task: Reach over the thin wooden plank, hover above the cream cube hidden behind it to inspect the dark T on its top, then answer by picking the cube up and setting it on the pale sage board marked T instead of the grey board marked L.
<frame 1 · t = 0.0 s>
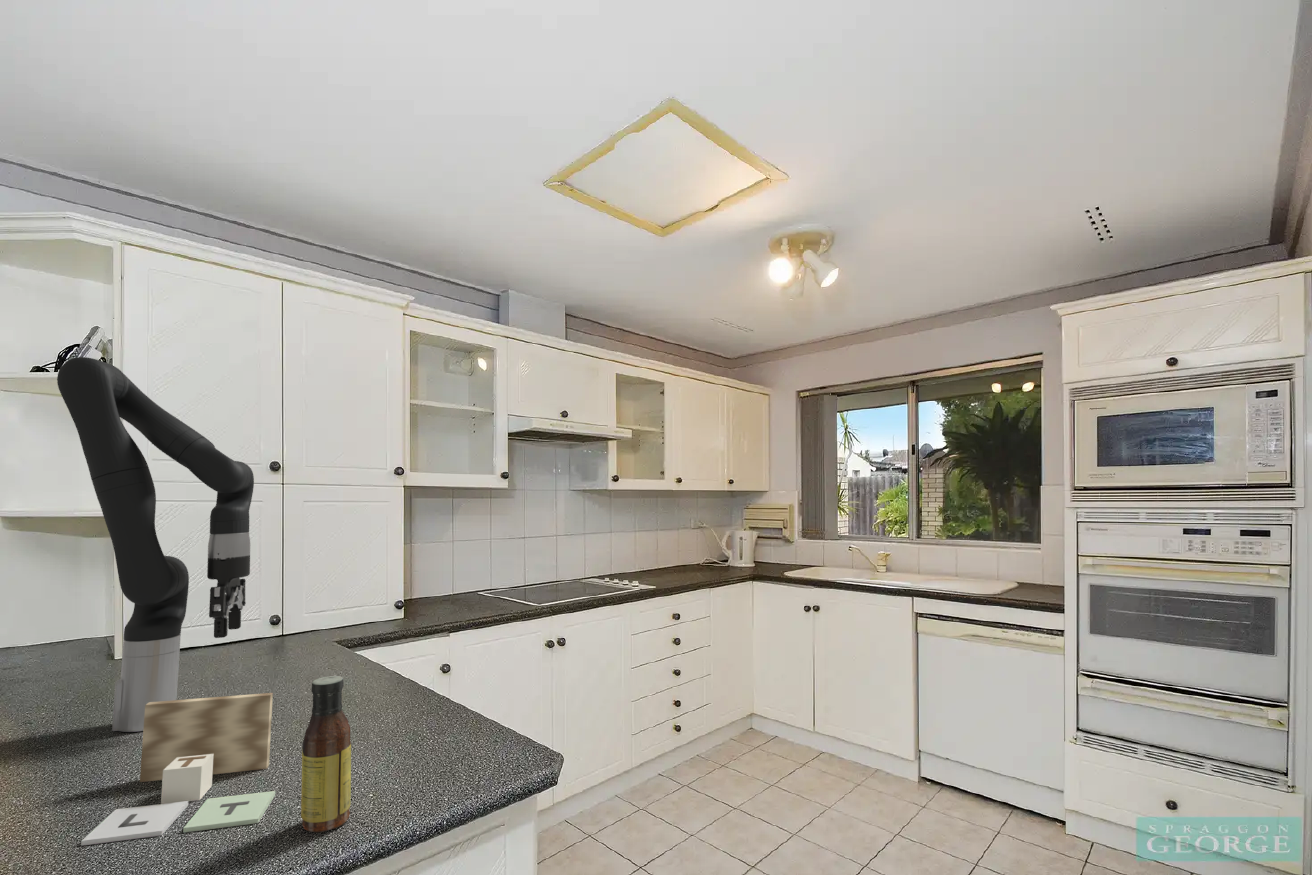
hand: (227, 633, 136), 17 cm above the countertop, tool pointing down, fingers open, 8 cm apart
board L: (137, 824, 91), on the countertop
cube: (187, 795, 100), on the countertop
thin wooden plank: (206, 773, 107), on the countertop
sauce bottle: (324, 825, 91), on the countertop
board T: (231, 812, 94), on the countertop
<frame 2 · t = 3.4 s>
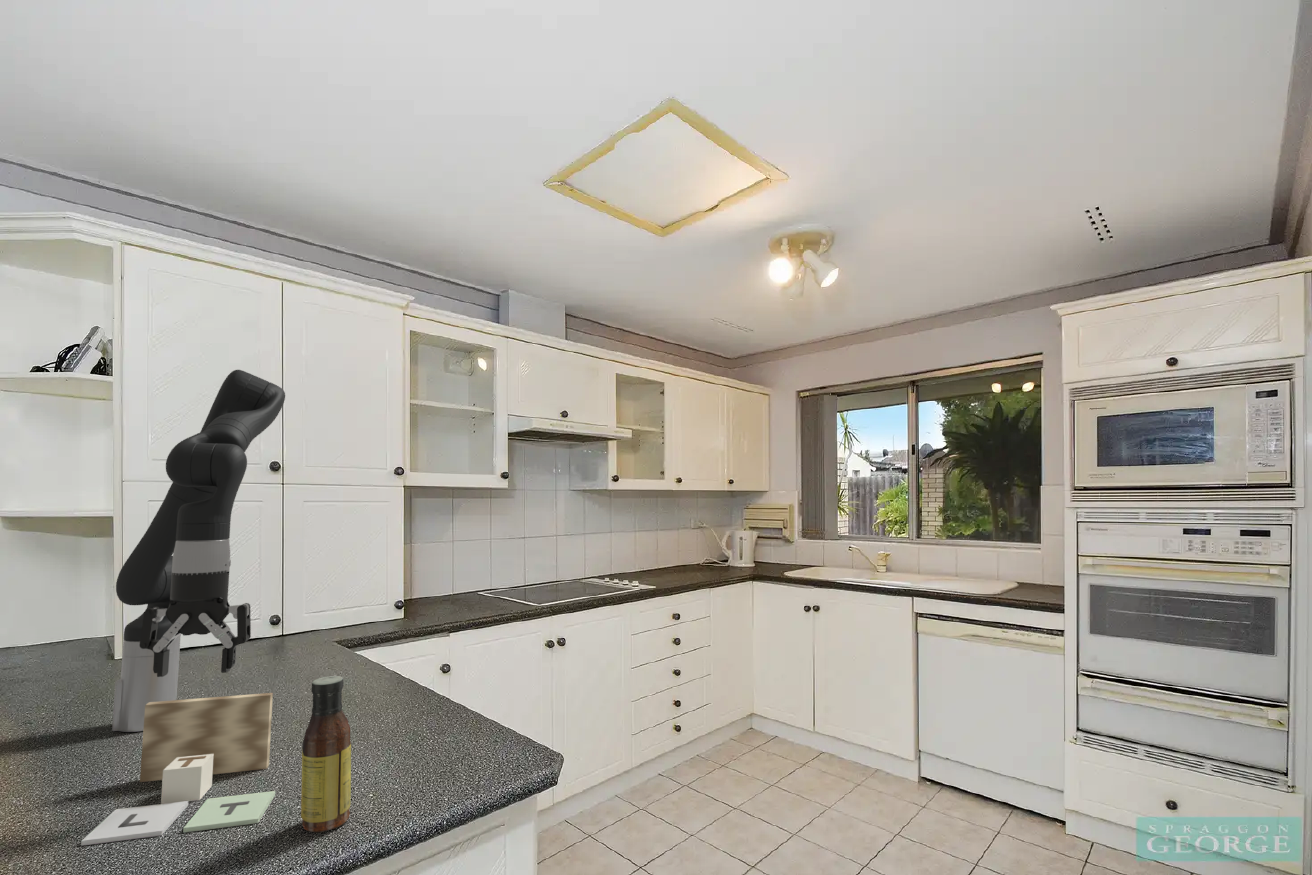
hand: (194, 673, 101), 18 cm above the countertop, tool pointing down, fingers open, 8 cm apart
nothing on the countertop moved.
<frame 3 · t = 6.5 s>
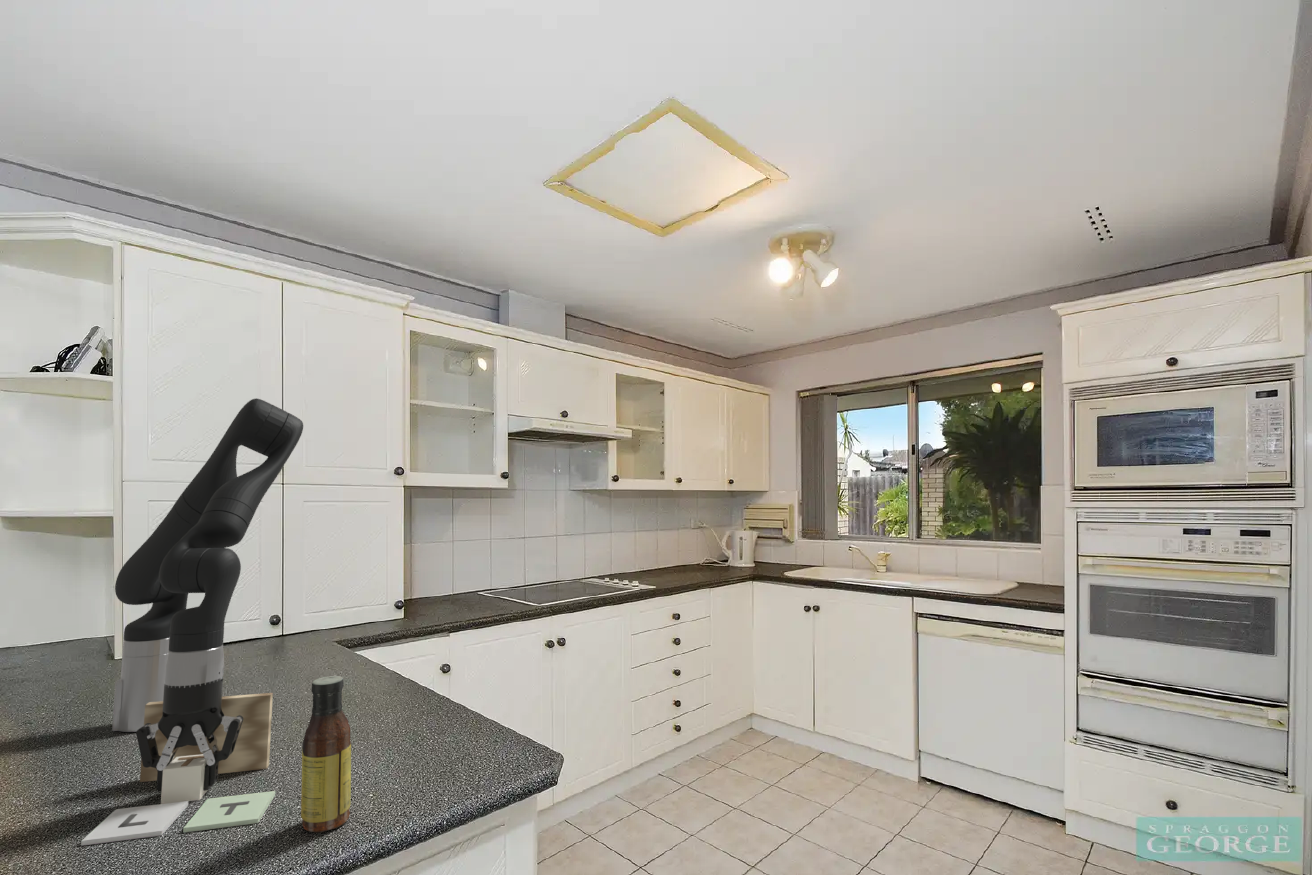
hand: (187, 790, 100), 1 cm above the countertop, tool pointing down, fingers closed on cube, 5 cm apart
cube: (186, 794, 100), on the countertop, touching gripper
everything else where it was.
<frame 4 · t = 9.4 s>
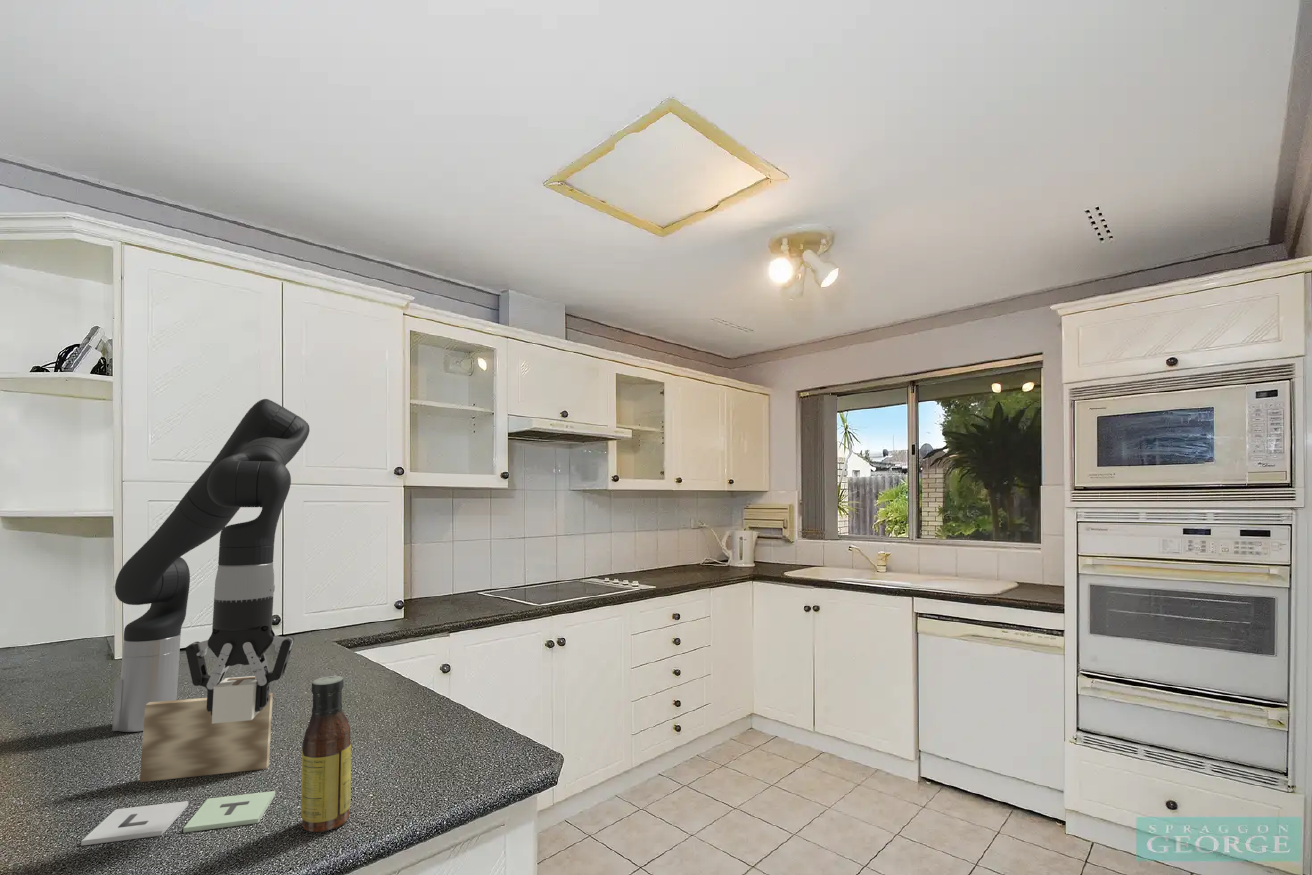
hand: (238, 711, 95), 14 cm above the countertop, tool pointing down, fingers closed on cube, 5 cm apart
cube: (237, 716, 95), point 14 cm above the countertop, touching gripper
everything else where it was.
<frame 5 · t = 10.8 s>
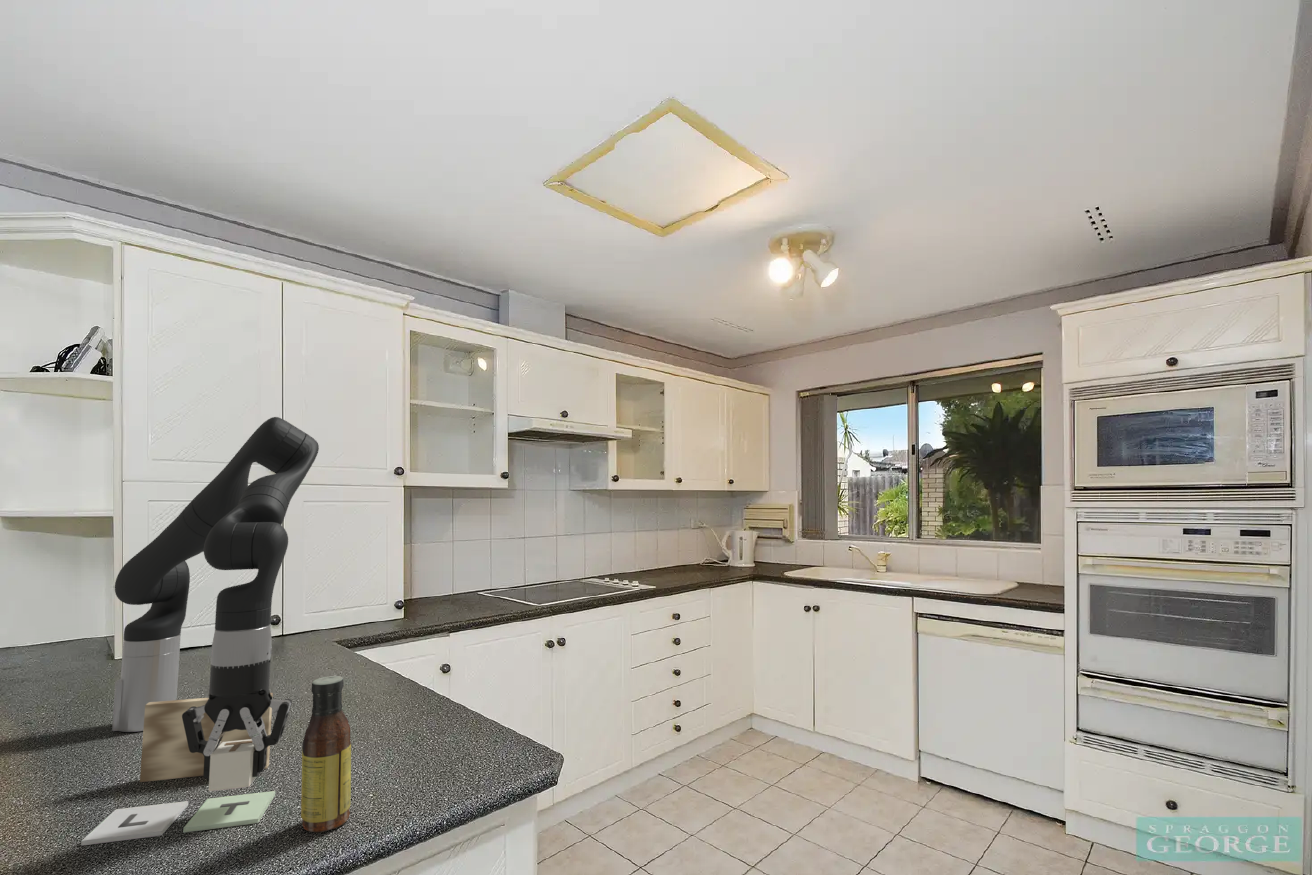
hand: (235, 776, 95), 5 cm above the countertop, tool pointing down, fingers closed on cube, 5 cm apart
cube: (234, 781, 95), point 4 cm above the countertop, touching gripper
everything else where it was.
when the fingers open (3 cm above the countertop, at t = 12.2 s): cube drops 1 cm, resting on board T.
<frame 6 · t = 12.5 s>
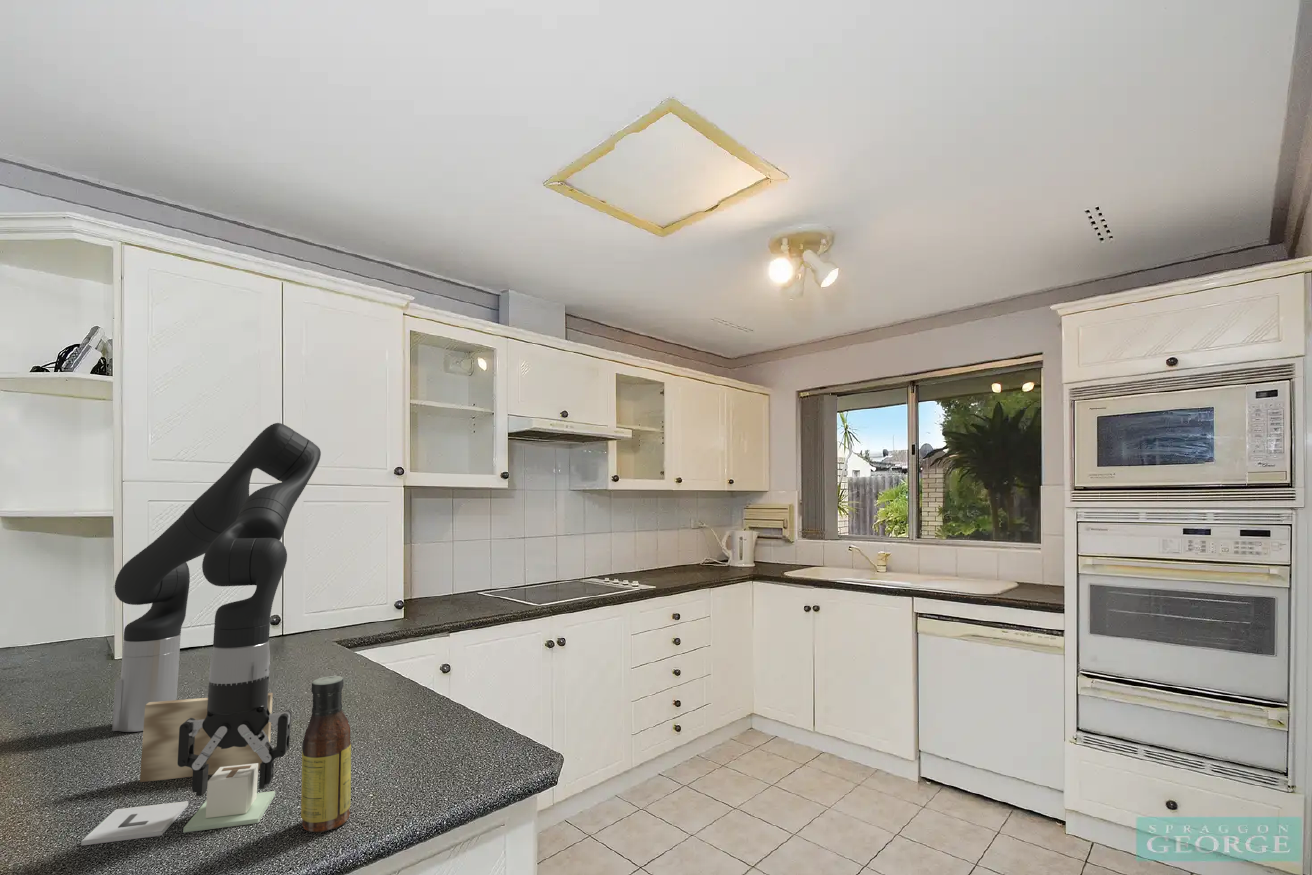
hand: (233, 790, 94), 3 cm above the countertop, tool pointing down, fingers open, 7 cm apart
cube: (231, 807, 94), point 1 cm above the countertop, touching board T
everything else where it was.
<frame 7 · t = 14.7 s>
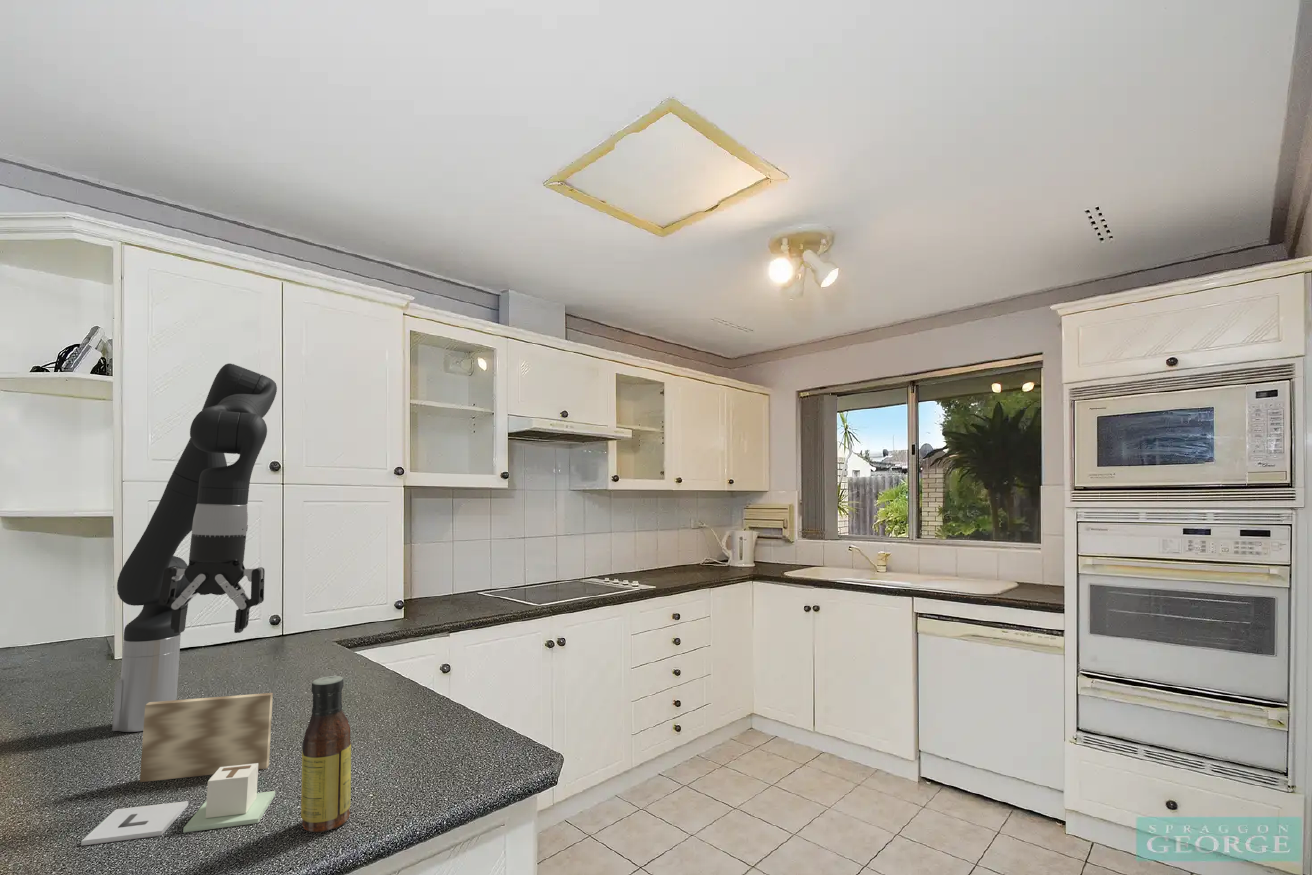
hand: (209, 632, 105), 24 cm above the countertop, tool pointing down, fingers open, 8 cm apart
nothing on the countertop moved.
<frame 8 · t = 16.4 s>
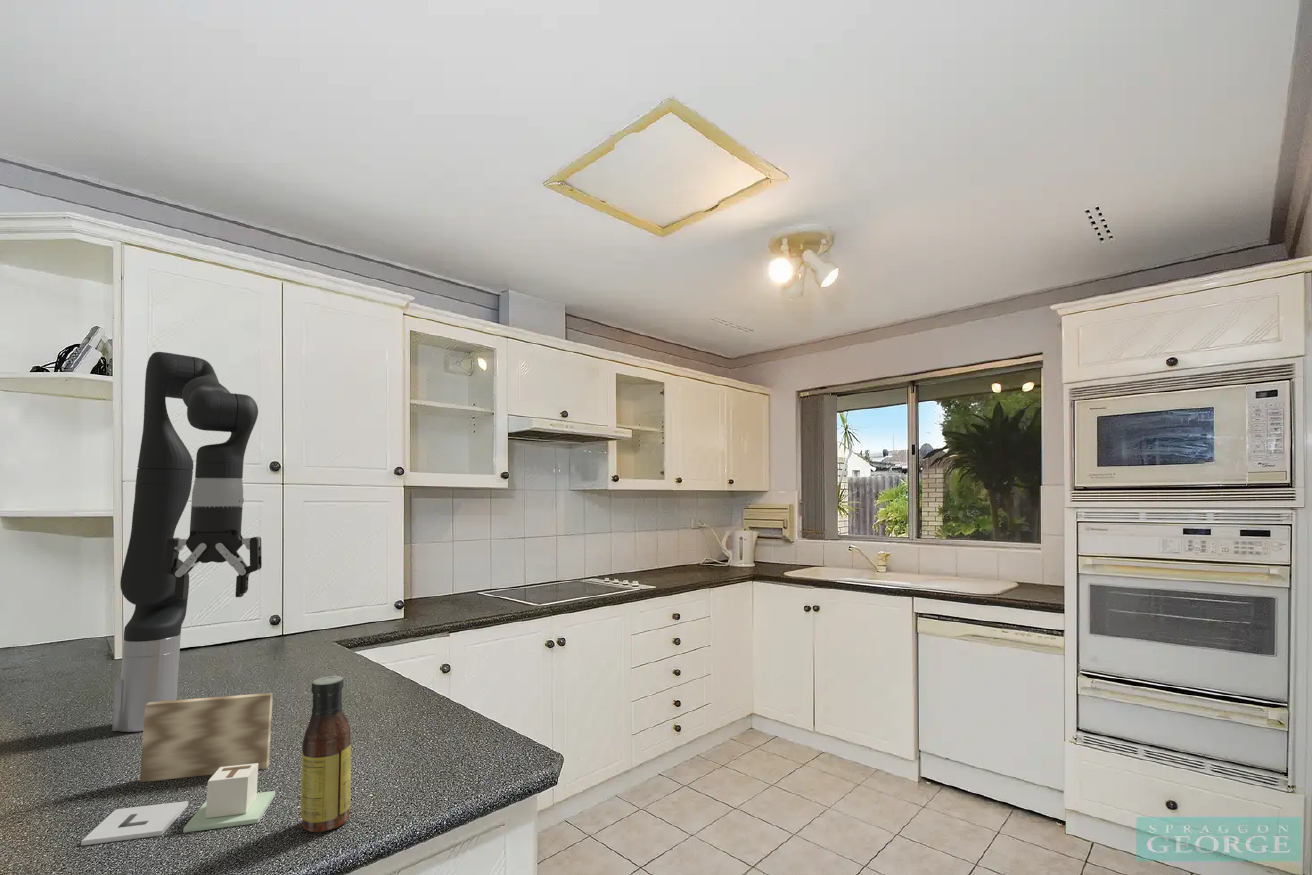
hand: (211, 597, 113), 28 cm above the countertop, tool pointing down, fingers open, 8 cm apart
nothing on the countertop moved.
at the end: cube 0.0 cm off-centre on the board T, point 0.7 cm above the board T's base; cube tilted 0°; the gripper is holding nothing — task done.
